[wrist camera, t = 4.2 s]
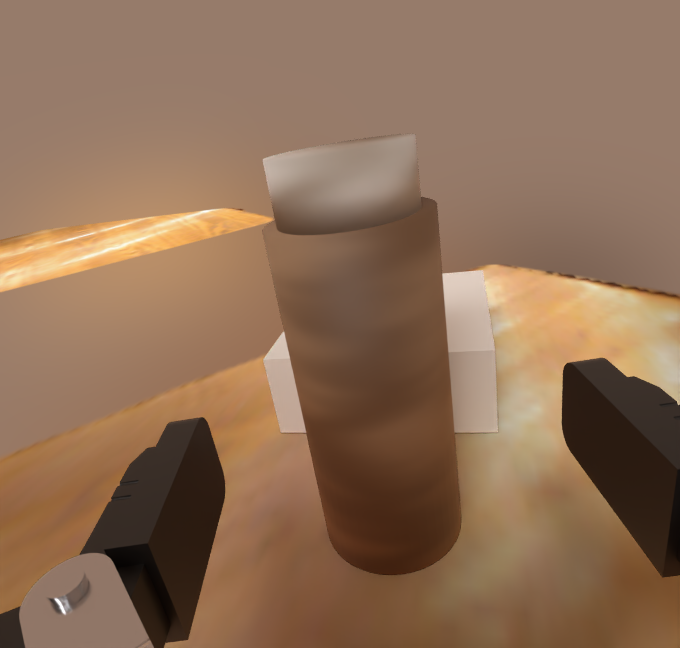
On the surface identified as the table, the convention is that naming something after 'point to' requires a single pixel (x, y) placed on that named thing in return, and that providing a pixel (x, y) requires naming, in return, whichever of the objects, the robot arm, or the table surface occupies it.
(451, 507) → the pepper mill
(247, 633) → the table surface
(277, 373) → the riser block
